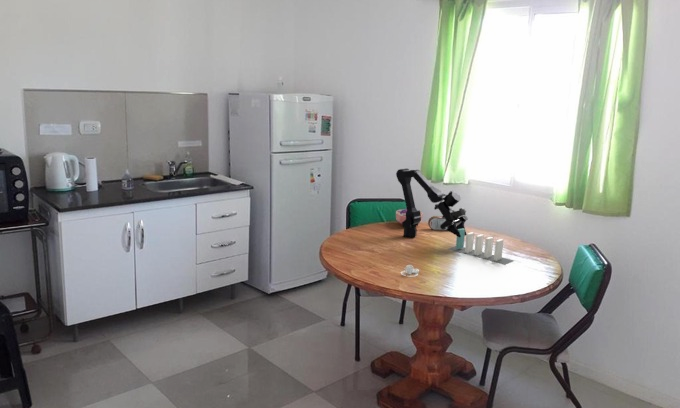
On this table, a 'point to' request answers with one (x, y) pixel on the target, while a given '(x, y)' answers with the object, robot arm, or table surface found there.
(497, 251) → the domino
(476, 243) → the domino
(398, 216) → the cell model
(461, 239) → the teal domino
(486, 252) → the domino
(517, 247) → the table surface
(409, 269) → the teacup and saucer
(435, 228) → the tin
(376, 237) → the table surface
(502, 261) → the mat
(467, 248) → the domino
